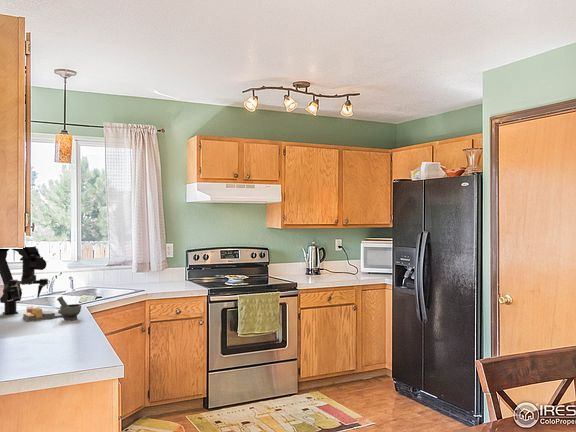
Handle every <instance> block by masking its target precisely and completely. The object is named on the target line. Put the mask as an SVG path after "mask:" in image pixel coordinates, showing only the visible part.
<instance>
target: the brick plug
mask: <svg viewBox="0 0 576 432" xmlns="http://www.w3.org/2000/svg"><path fill="white" fill-rule="evenodd" d="M32 308H34V307H33V306H27V307H26V313H32Z"/></svg>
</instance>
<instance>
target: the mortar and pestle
mask: <svg viewBox="0 0 576 432" xmlns="http://www.w3.org/2000/svg"><path fill="white" fill-rule="evenodd" d="M56 300H57V301H58V302H59V304H60V307H59V309H60V311H61V314H62V315H63V316H64V317H63V321H65V320H66V322H67V321H68V322H69V321H70V320H71V321H76V320H78V315H79V314H80V313H81V311H82V305H81V304H77V303H76V304H75V303H73V304H68V303H67V302H66V301H65V299H64V296H62V295H61V296H58V298H57V299H56Z"/></svg>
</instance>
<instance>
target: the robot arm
mask: <svg viewBox="0 0 576 432" xmlns="http://www.w3.org/2000/svg"><path fill="white" fill-rule="evenodd" d="M24 245H25V248H23V249H11V250H12V251H14V252H17V253H18V255H20V256H22V257H20V259H19V260H20V261H22V273H21V274H22V275H21V278H20V279H21V280H18V279H14V278H13V275H12V272H11V270H10V267H9V264H8V261H7V257H8V252H9V251H10V249H0V277H1V280H2V283H3V289H2V293H3V294H2V296H0V303H1V304H4V305H3V306H4V311H2V314H3V313H4V315H12V314H14V313H15V314H19V311H17V302H21V299H22V295H23V289H22V288H21V286H23V285H37V284H38V287H37V288H38V289H37V296H36V297H37V298H36V299H39V298H40V294H41V292H42V290H43V288H44V287H45V286H47V285H48V284H49V279H48V278H39V279H37V274H36V273H35V272H36V271H44V270H45V269H46V268H47V266H48V265H47V261H46V260H45V259H44V257H43V256H41V254H40V253H39V250H38V249H37V246H35V245H34V244H24ZM35 270H36V271H35Z"/></svg>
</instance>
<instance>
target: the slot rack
mask: <svg viewBox="0 0 576 432" xmlns="http://www.w3.org/2000/svg"><path fill="white" fill-rule="evenodd" d="M22 316H23V317H22V318H23V319H24V320H25V321H27V322H31V321H41V319H43V320H50V318H51V319H59V317H60V318H64V316H63V315H62V314H61V311H60V308H59V309H58V311H57V312H53V311H51V310H48V309H47V310H42V317H40V318H35V315H33V314H32V313H27V312H23V314H22Z"/></svg>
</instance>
